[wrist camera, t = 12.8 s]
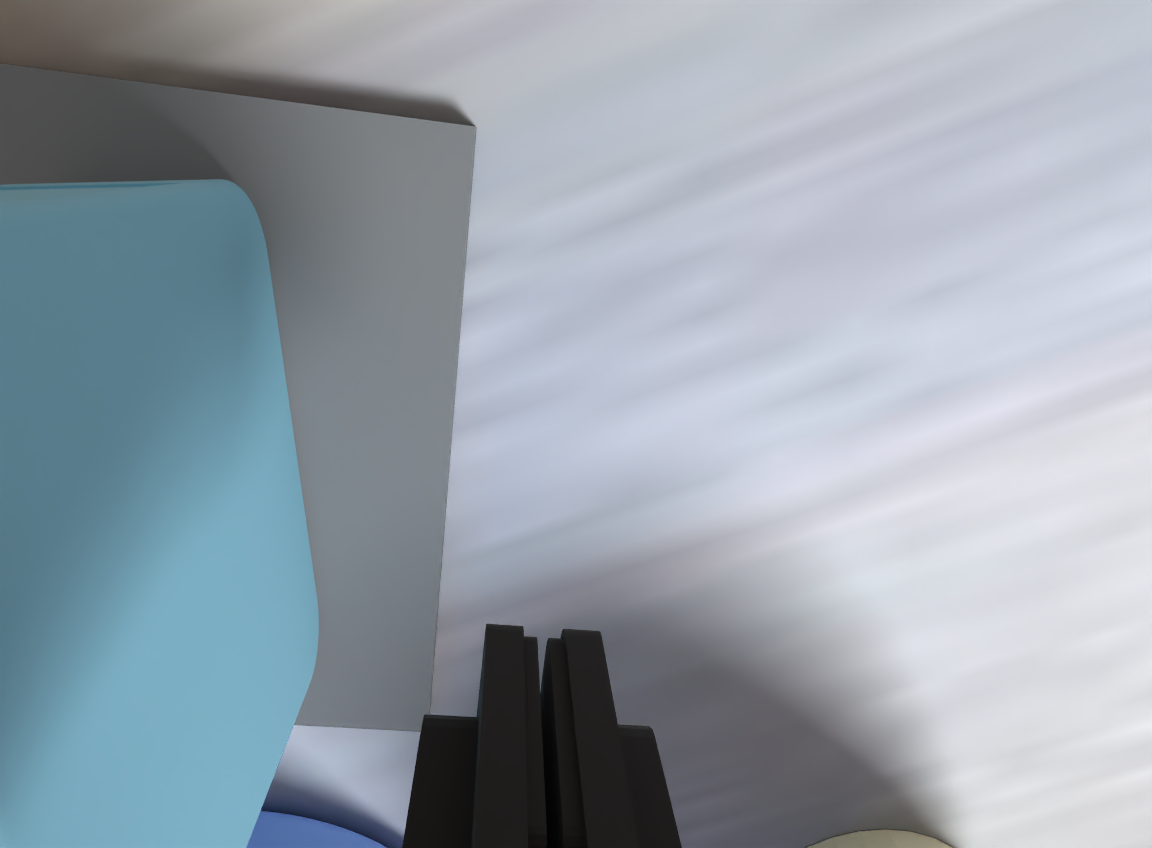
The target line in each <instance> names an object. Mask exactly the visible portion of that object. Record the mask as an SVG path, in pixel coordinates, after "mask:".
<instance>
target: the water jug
mask: <svg viewBox="0 0 1152 848" xmlns="http://www.w3.org/2000/svg"><path fill="white" fill-rule="evenodd" d="M246 848H387V847H385V846H383V845H382V844H380V843H378V842H376V841H373V840H371V839H369V838H367V837H365V836H362V835H360V834H358V833H355V832H353V831H350V830H347V829H344V828H342V827H339V826H335V825H332V824H329V823H326V822H322V821H318V820H314V819H310V818H305V817H300V816H295V815H289V814H283V813H275V812H266V811H260V813H259V816H258V819H257V821H256V824H255V826H254V829H253V832H252V834H251V837H250V839H249V842H248V844H247V847H246Z"/></svg>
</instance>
